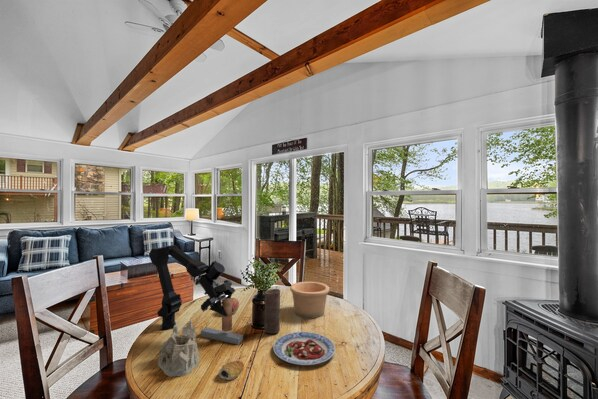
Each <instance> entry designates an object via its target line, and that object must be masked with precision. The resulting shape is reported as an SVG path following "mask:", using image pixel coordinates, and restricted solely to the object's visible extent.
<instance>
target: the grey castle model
mask: <svg viewBox="0 0 598 399" xmlns="http://www.w3.org/2000/svg"><path fill="white" fill-rule="evenodd" d="M196 333H197V332H196V327H193V320H191V319H189V322H188V323H187V324H186V326H182V330H181V336H180V334H179V325H177V324H176V325H174V327H173V328H172V334H171V335H170V337H168V339H167V340H166V341H165V342H164V343H163V344H162V346H161V347H160V352H161V353H160V355H159V357H158V362H157V366H158V367H159V368H160V369H161V371H163V373H164V374H165V375H166V376H168V377H172V378H173V377H186V376H187V375H189V374H190V373H191V372H192V371H193V370H195V369H196V368H197V367H198V366H199V364H200V352H199V349H198V344H197V342H196V341H197V336H196Z"/></svg>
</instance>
